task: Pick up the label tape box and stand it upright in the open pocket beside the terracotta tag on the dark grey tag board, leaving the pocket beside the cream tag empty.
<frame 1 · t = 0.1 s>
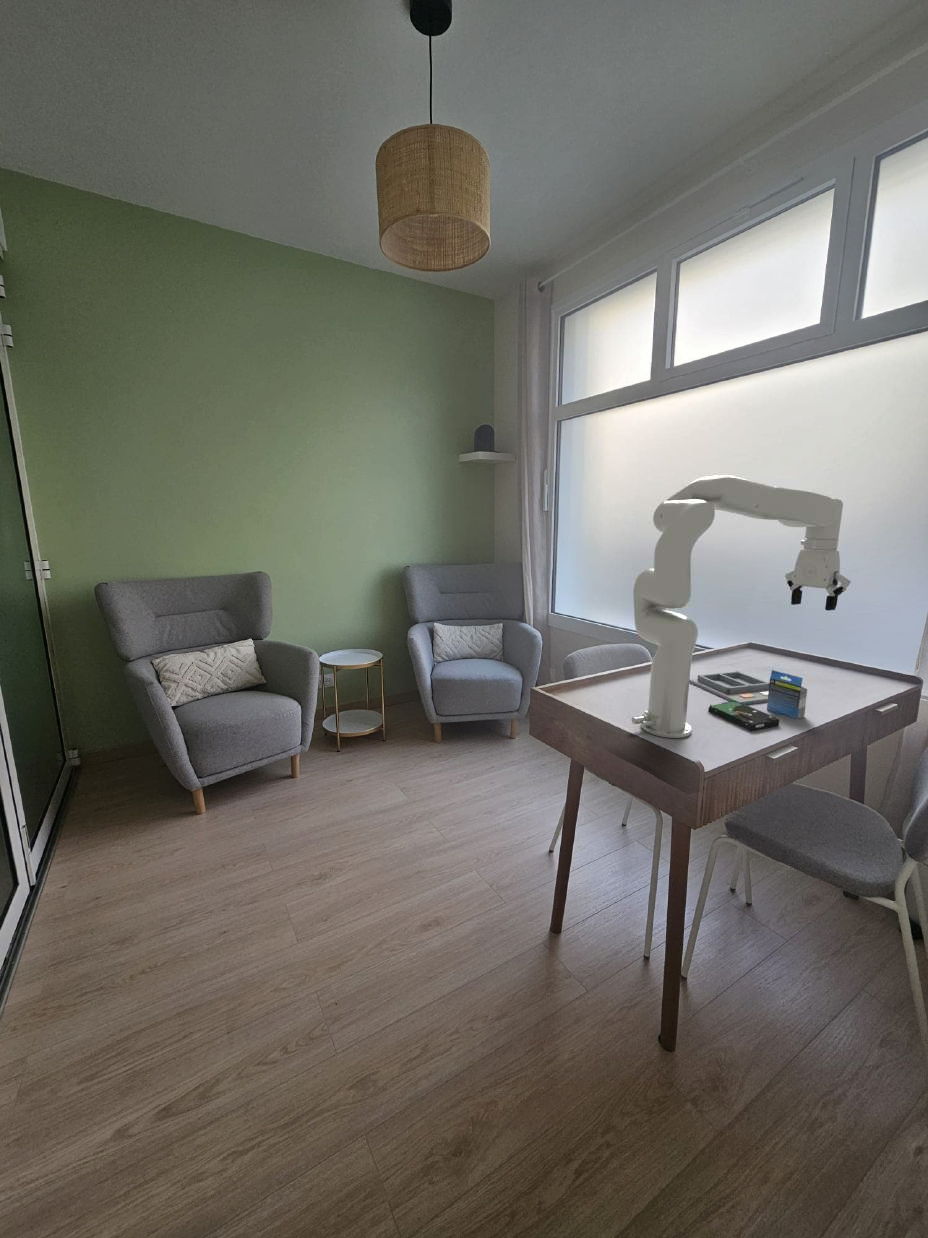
hand: (812, 607, 141), 31 cm above the table, tool pointing down, fingers open, 9 cm apart
tag board: (732, 687, 168), on the table
label tape box: (784, 713, 146), on the table
disk drive: (741, 721, 143), on the table
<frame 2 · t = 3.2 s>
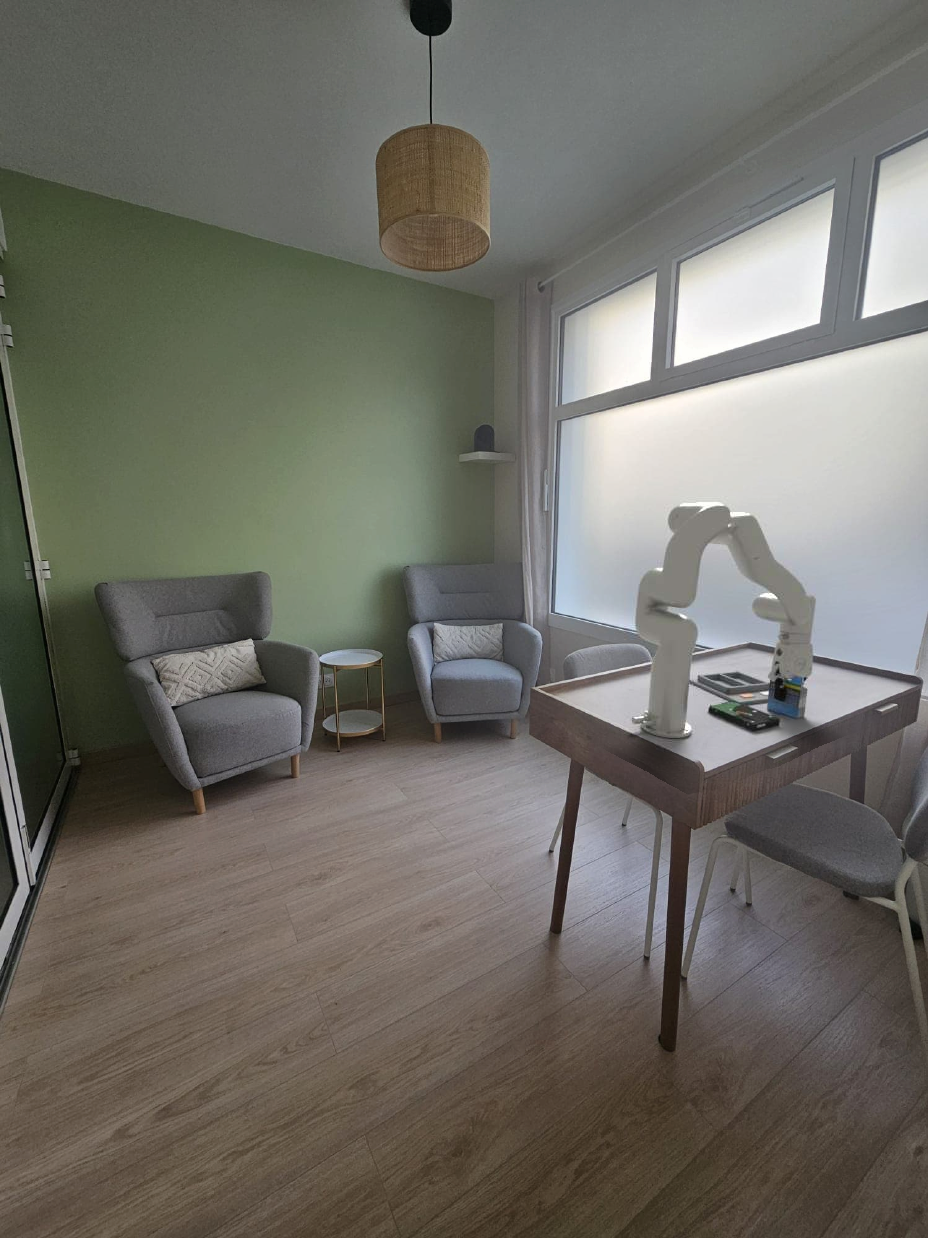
hand: (786, 698, 145), 4 cm above the table, tool pointing down, fingers closed on label tape box, 4 cm apart
label tape box: (784, 713, 146), on the table, touching gripper
everything else where it was.
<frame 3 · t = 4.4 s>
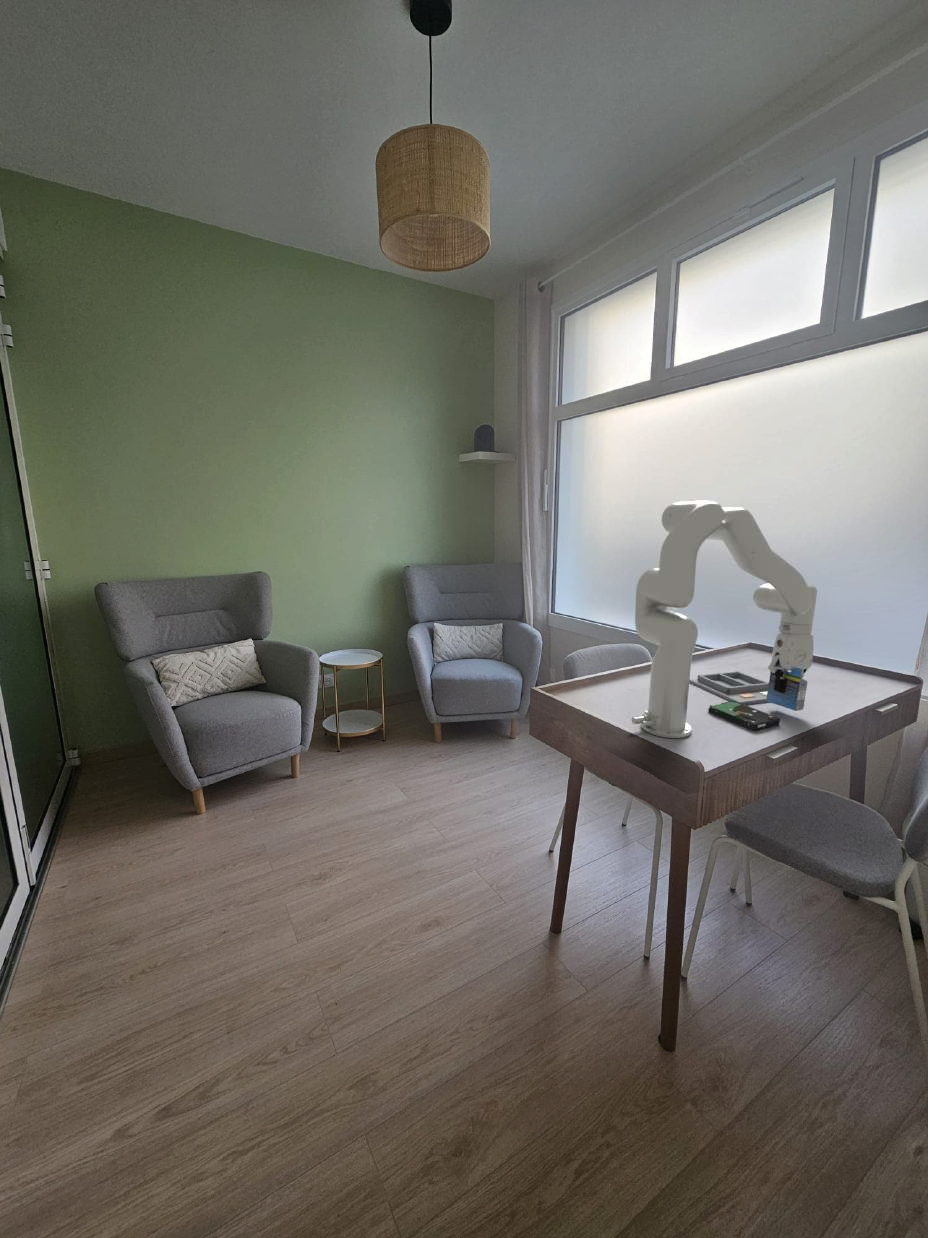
hand: (786, 690, 145), 7 cm above the table, tool pointing down, fingers closed on label tape box, 4 cm apart
label tape box: (783, 706, 146), point 2 cm above the table, touching gripper
everything else where it was.
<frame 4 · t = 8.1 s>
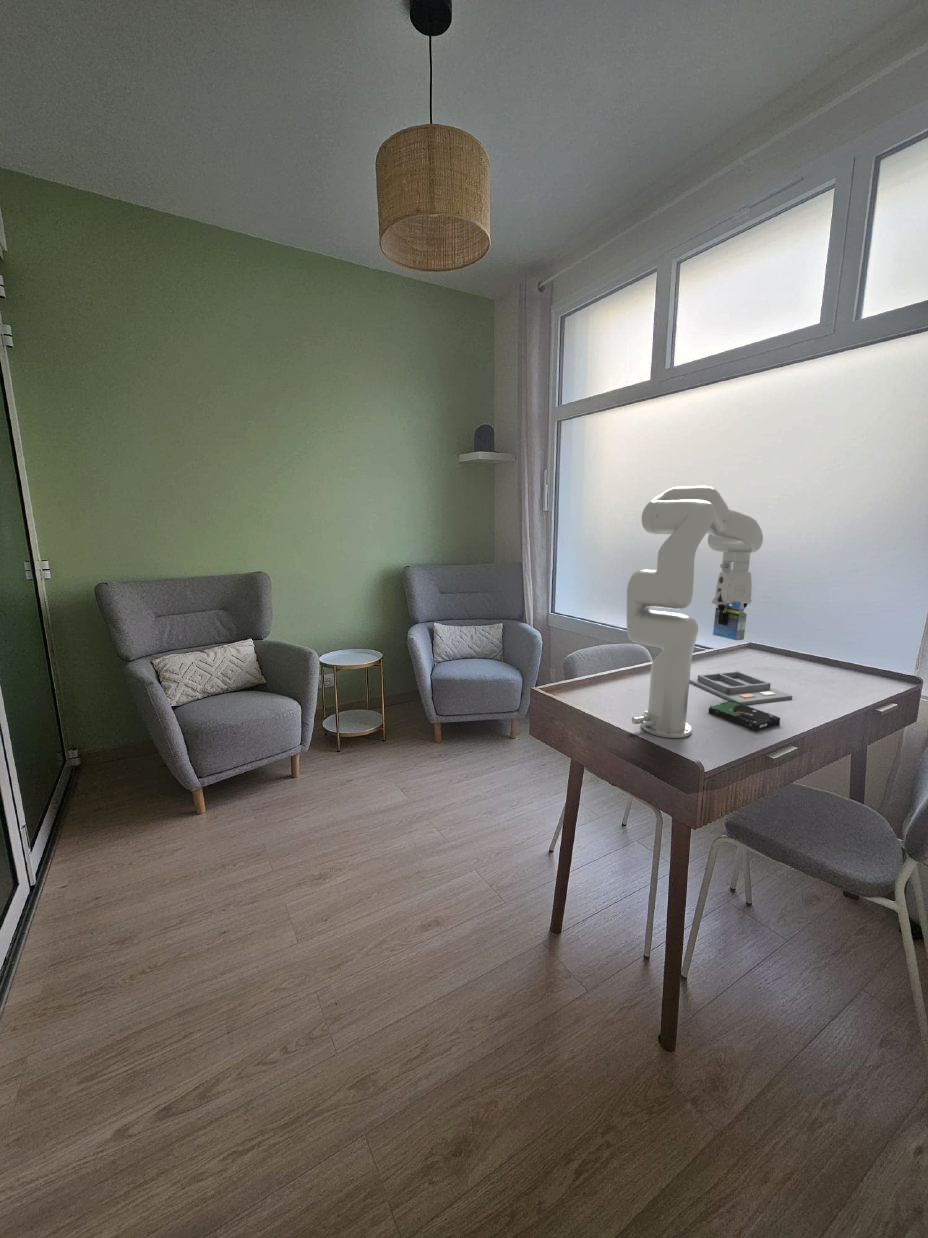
hand: (729, 623, 162), 22 cm above the table, tool pointing down, fingers closed on label tape box, 4 cm apart
label tape box: (727, 638, 163), point 17 cm above the table, touching gripper
everything else where it was.
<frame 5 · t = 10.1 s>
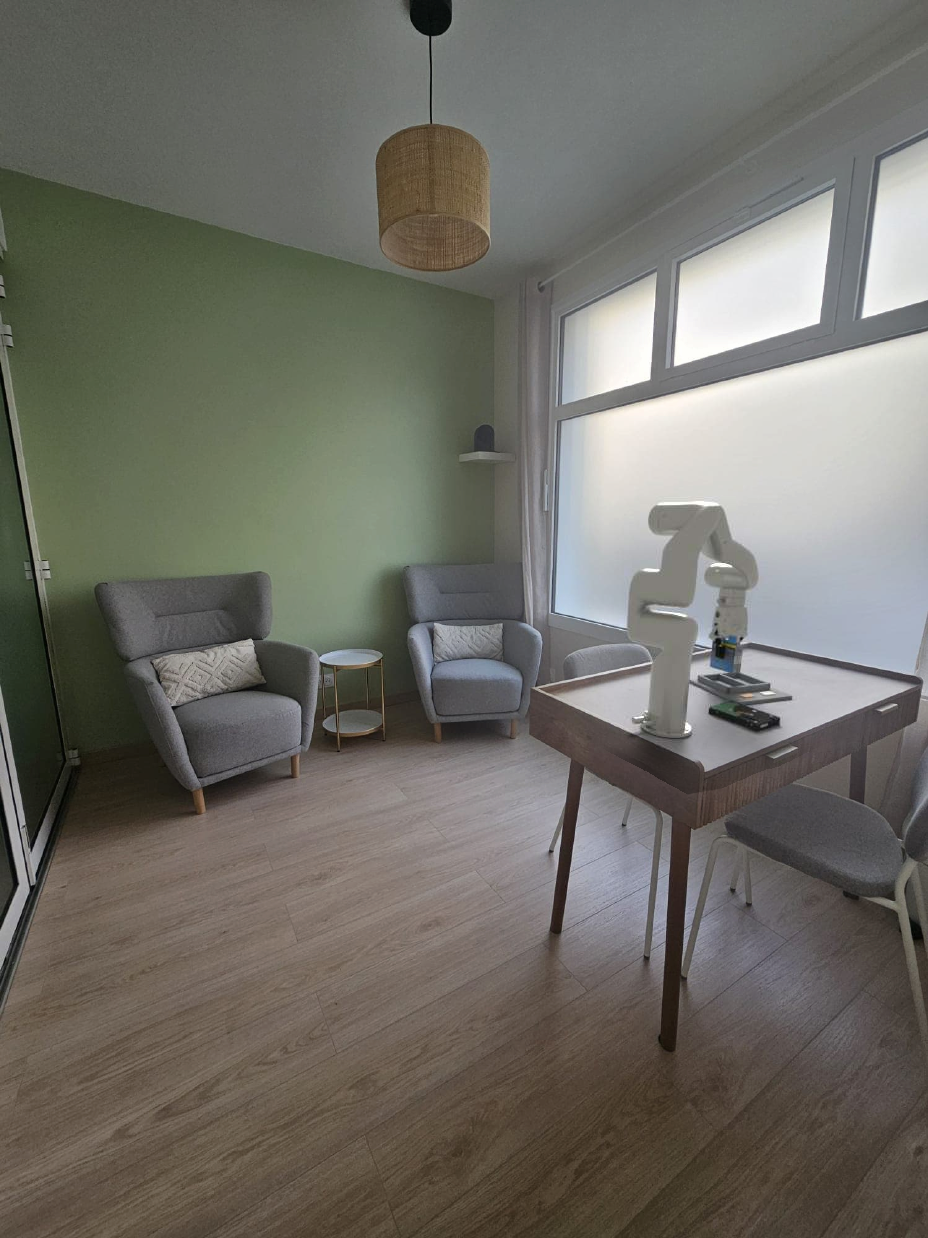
hand: (726, 656, 164), 11 cm above the table, tool pointing down, fingers closed on label tape box, 4 cm apart
label tape box: (724, 670, 165), point 6 cm above the table, touching gripper
everything else where it was.
when the fingers open (7 cm above the table, at t = 11.8 s): label tape box drops 1 cm, resting on tag board.
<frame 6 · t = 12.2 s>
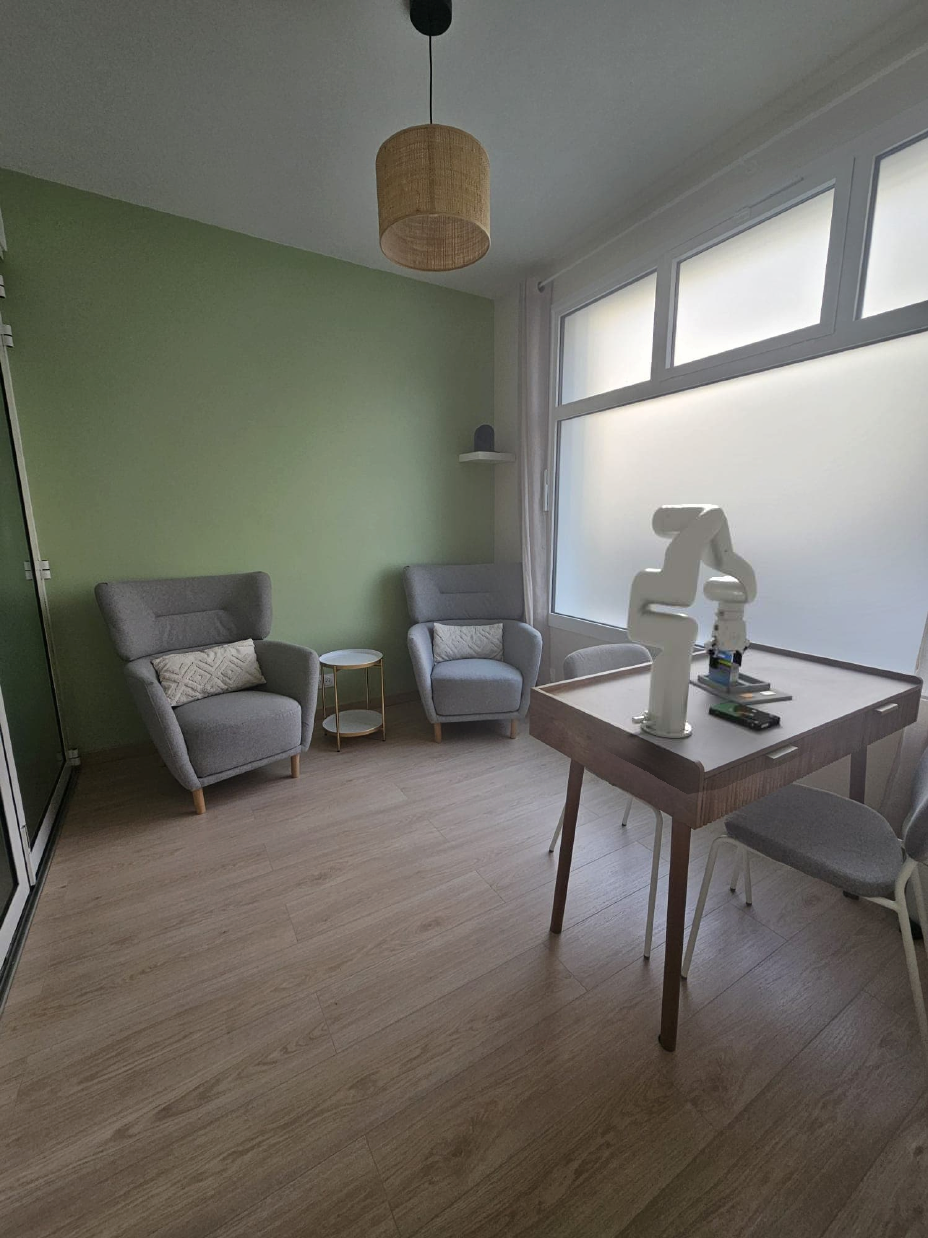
hand: (724, 666, 165), 8 cm above the table, tool pointing down, fingers open, 8 cm apart
label tape box: (721, 687, 166), point 1 cm above the table, touching tag board
everything else where it was.
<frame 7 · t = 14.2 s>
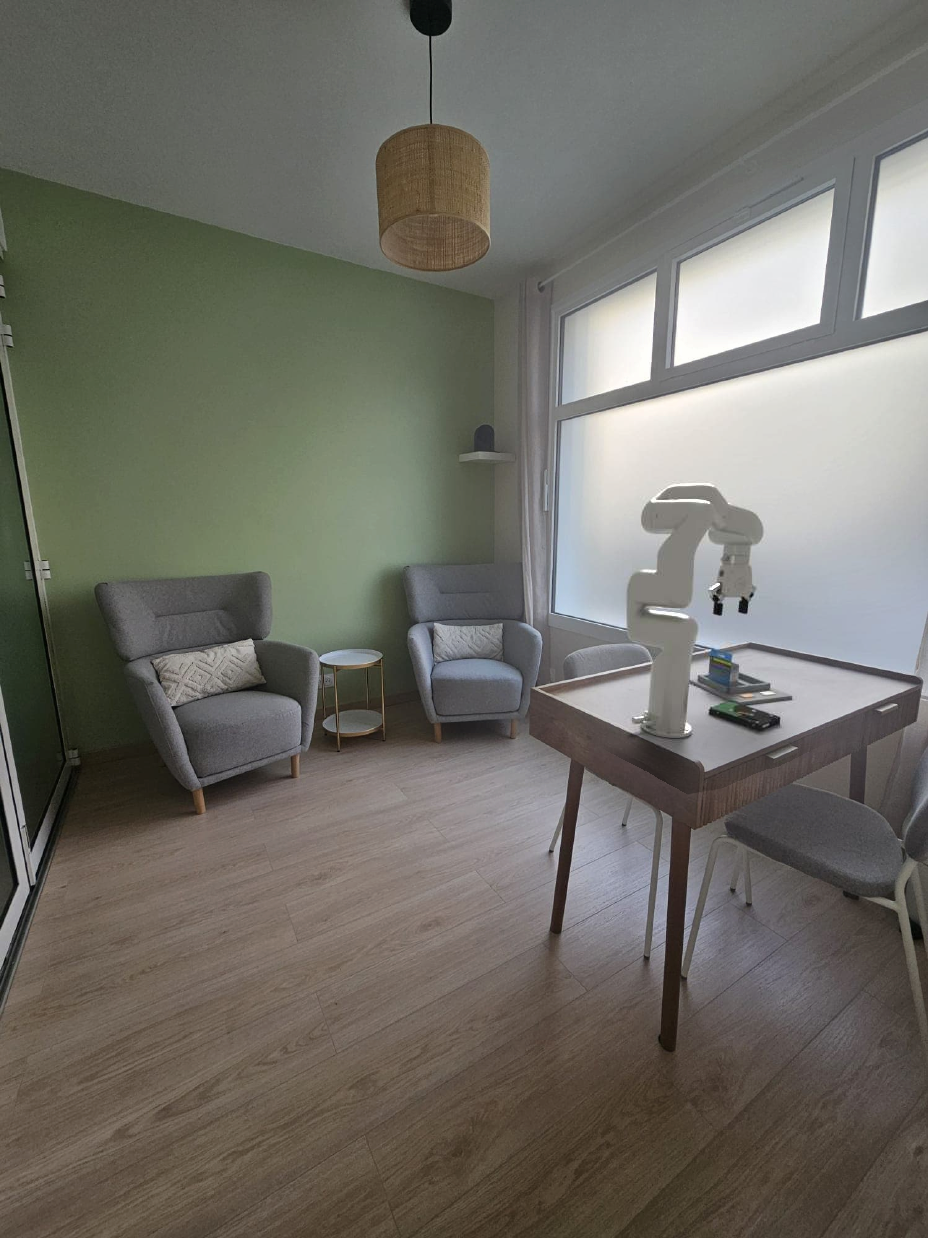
hand: (730, 614, 161), 25 cm above the table, tool pointing down, fingers open, 9 cm apart
nothing on the table moved.
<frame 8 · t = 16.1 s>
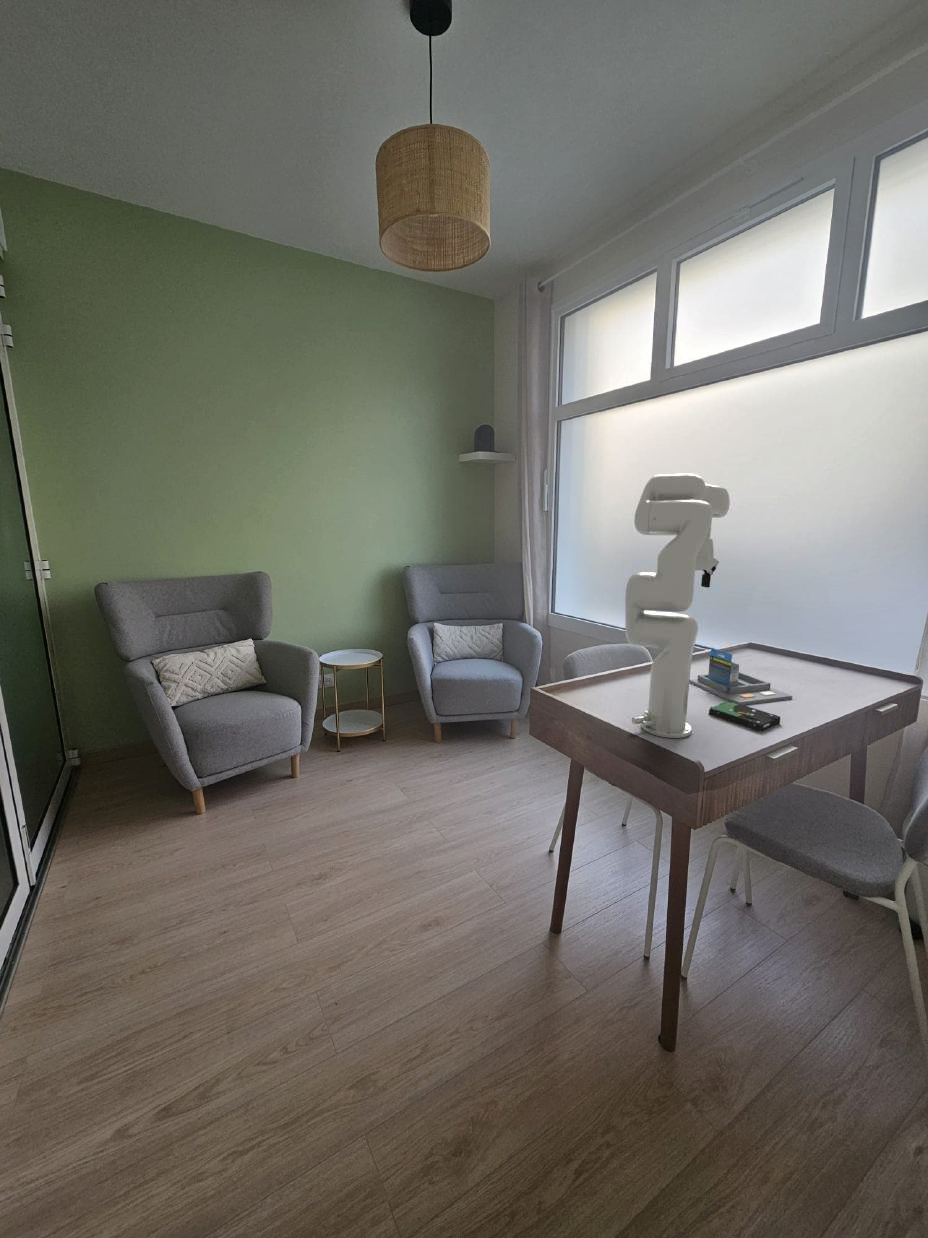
hand: (692, 587, 163), 33 cm above the table, tool pointing down, fingers open, 9 cm apart
nothing on the table moved.
at the end: label tape box 0.5 cm from the target spot on the tag board, point 0.8 cm above the tag board's base; label tape box tilted 0°; the gripper is holding nothing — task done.
